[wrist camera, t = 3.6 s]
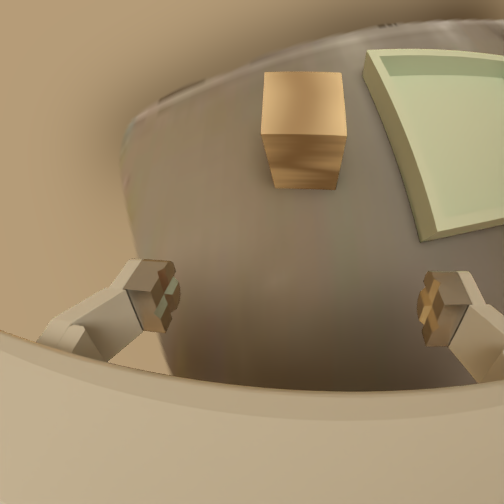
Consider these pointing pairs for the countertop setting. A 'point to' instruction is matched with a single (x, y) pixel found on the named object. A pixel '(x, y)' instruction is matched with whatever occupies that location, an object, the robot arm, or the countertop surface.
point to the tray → (444, 134)
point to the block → (304, 128)
